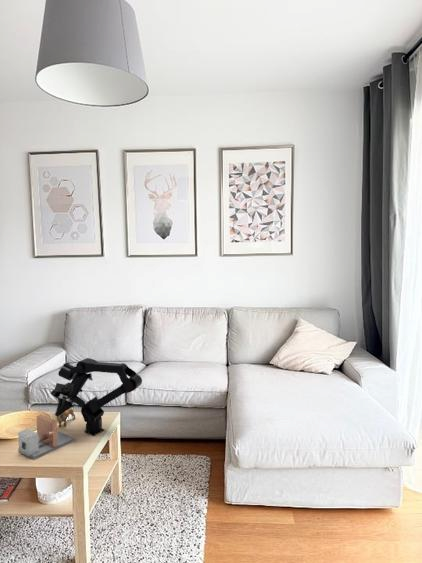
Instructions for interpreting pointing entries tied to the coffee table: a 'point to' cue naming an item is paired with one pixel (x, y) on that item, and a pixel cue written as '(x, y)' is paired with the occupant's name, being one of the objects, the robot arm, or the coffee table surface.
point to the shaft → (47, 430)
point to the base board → (45, 448)
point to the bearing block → (28, 442)
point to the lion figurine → (65, 416)
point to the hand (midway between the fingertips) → (56, 415)
